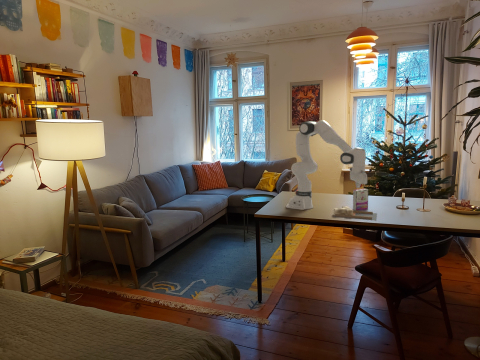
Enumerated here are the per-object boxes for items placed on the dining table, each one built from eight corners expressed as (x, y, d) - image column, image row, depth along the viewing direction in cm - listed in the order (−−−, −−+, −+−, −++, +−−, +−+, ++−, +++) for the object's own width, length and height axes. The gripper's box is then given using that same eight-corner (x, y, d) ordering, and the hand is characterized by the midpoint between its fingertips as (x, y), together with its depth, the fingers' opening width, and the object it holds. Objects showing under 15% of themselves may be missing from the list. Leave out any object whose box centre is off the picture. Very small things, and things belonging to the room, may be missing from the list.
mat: (333, 217, 250) (333, 214, 250) (336, 210, 268) (336, 208, 268) (376, 221, 238) (376, 218, 238) (377, 213, 256) (377, 211, 256)
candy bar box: (364, 208, 274) (364, 188, 272) (368, 209, 270) (368, 189, 267) (352, 209, 271) (352, 189, 269) (355, 210, 267) (356, 190, 264)
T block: (347, 212, 261) (347, 206, 260) (353, 216, 249) (353, 210, 249) (331, 213, 261) (332, 206, 260) (337, 217, 249) (337, 210, 248)
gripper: (370, 171, 238) (369, 190, 240) (356, 167, 258) (355, 185, 260) (361, 171, 237) (360, 190, 239) (348, 167, 257) (347, 185, 259)
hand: (358, 187), depth 250 cm, fingers closed
